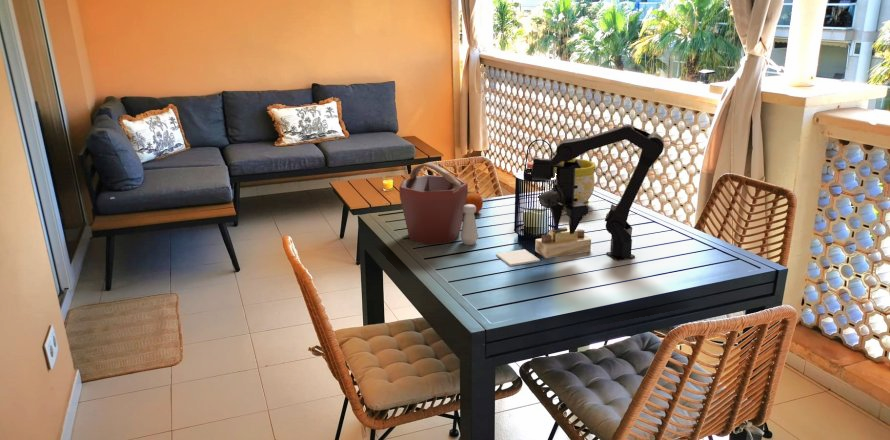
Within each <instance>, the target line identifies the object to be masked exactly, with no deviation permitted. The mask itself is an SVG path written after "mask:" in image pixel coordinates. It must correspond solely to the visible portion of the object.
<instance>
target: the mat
mask: <svg viewBox="0 0 890 440" xmlns="http://www.w3.org/2000/svg"><path fill="white" fill-rule="evenodd" d="M495 256H496V257H497V258H498V259H500V260H501V261H503V262H504V263H506V264H507V265H508V266H509V267H513V266H520V265H525V264H527V265H528V264H531V263H538V262H541V260H540V258H538V257H537V256H535V255H534V254H533V253H531V252H530V251H528V250H527V249H525V248H524V249H518V250H517V249H516V250H511V251H504V252H498V253H497V252H496V253H495Z"/></svg>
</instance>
